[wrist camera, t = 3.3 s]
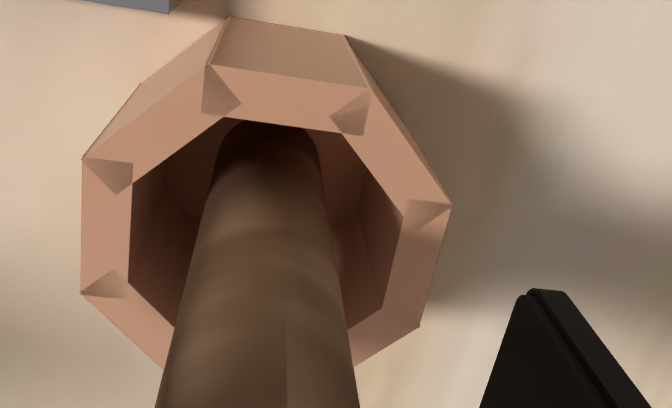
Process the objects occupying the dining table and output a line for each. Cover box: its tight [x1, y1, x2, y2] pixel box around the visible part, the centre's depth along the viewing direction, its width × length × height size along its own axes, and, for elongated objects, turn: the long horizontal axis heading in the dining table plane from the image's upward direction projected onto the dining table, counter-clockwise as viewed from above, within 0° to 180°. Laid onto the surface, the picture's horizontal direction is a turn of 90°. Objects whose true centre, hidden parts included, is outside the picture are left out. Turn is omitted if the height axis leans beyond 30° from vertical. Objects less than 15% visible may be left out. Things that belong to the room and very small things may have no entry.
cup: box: [79, 16, 453, 370], centre depth 17 cm, size 8×8×6 cm
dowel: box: [155, 120, 360, 408], centre depth 12 cm, size 3×3×14 cm
